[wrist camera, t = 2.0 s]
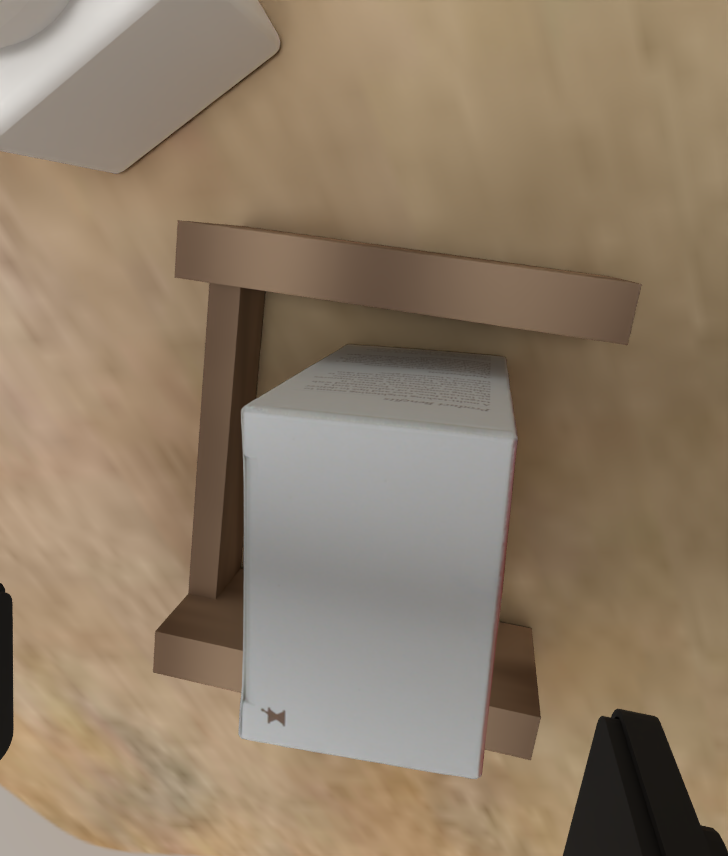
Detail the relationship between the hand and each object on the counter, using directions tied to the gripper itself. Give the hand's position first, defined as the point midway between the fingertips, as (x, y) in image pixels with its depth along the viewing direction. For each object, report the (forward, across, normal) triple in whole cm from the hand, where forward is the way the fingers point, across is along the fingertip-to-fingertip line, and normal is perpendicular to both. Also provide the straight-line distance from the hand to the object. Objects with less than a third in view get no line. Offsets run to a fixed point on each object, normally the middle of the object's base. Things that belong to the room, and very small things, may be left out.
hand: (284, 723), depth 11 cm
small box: (+14, -1, 0) cm, 15 cm away
